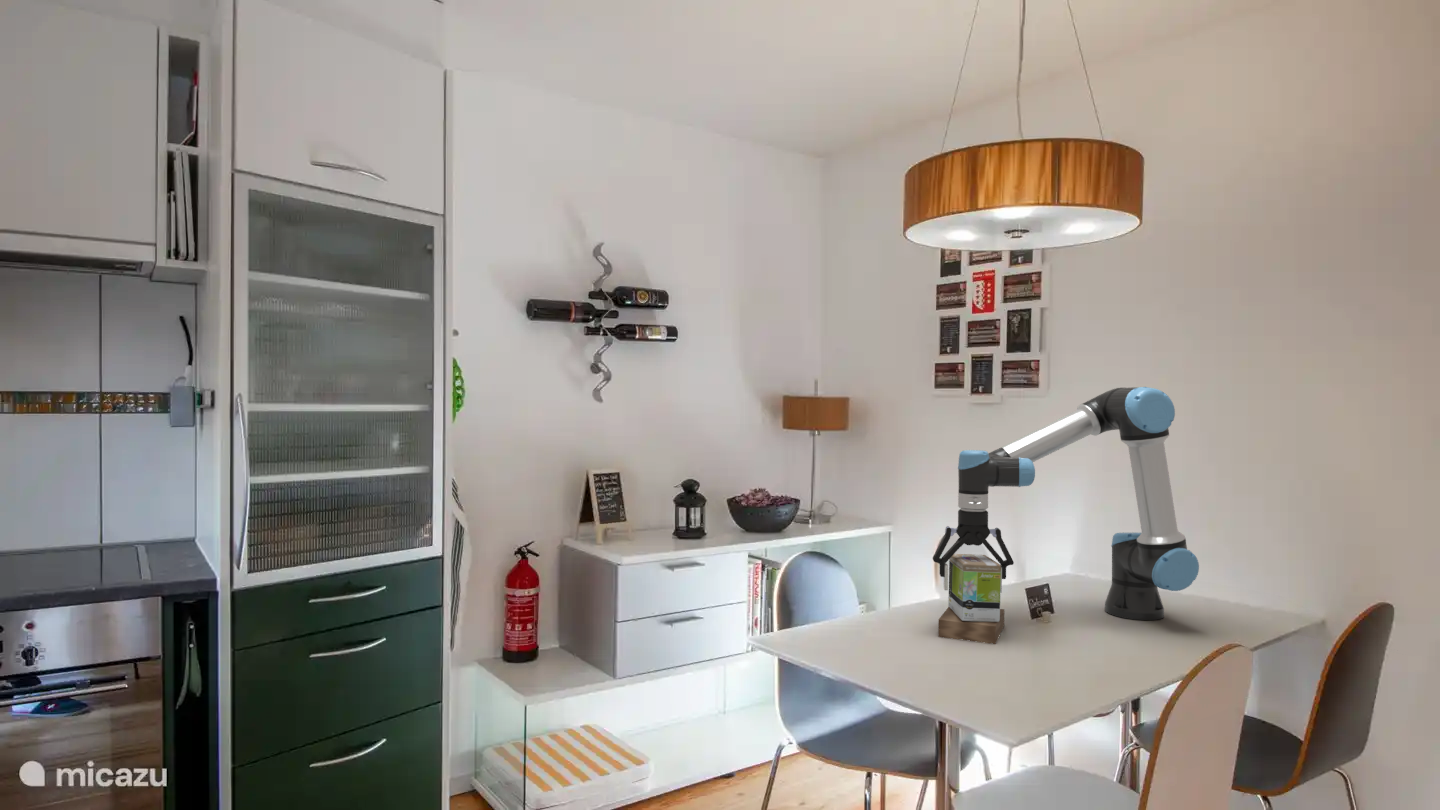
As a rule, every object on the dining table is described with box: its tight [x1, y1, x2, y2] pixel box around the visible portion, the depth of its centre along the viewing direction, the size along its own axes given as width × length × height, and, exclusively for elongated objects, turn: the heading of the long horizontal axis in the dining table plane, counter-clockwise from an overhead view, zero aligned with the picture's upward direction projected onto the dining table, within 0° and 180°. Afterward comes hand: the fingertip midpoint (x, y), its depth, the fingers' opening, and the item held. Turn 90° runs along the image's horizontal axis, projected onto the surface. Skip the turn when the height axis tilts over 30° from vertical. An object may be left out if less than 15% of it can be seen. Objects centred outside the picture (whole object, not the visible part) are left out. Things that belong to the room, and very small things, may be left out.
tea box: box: [947, 553, 1001, 622], centre depth 218 cm, size 15×10×15 cm, turn 178°
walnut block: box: [937, 606, 1005, 645], centre depth 218 cm, size 14×18×5 cm
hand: (972, 590), depth 218 cm, fingers open, 13 cm apart
